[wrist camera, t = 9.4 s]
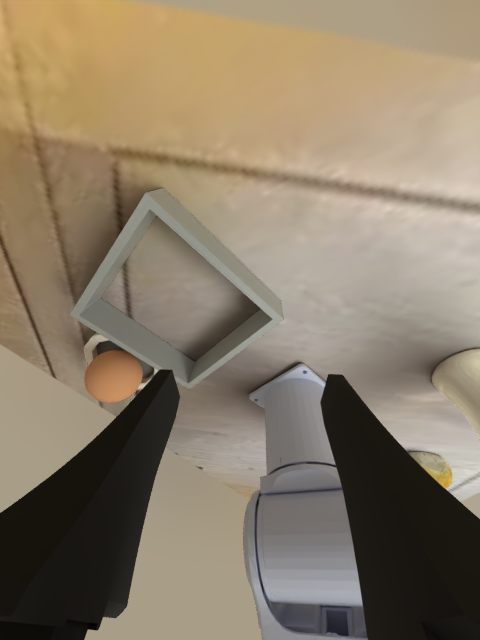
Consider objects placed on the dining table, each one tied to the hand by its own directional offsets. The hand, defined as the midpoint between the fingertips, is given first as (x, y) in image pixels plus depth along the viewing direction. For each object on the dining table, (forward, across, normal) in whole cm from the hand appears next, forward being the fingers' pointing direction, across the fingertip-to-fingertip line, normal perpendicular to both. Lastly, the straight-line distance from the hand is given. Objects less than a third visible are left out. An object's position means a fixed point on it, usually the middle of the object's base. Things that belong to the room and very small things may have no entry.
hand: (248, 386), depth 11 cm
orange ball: (+7, +13, +8) cm, 17 cm away
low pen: (+10, +6, +1) cm, 12 cm away
